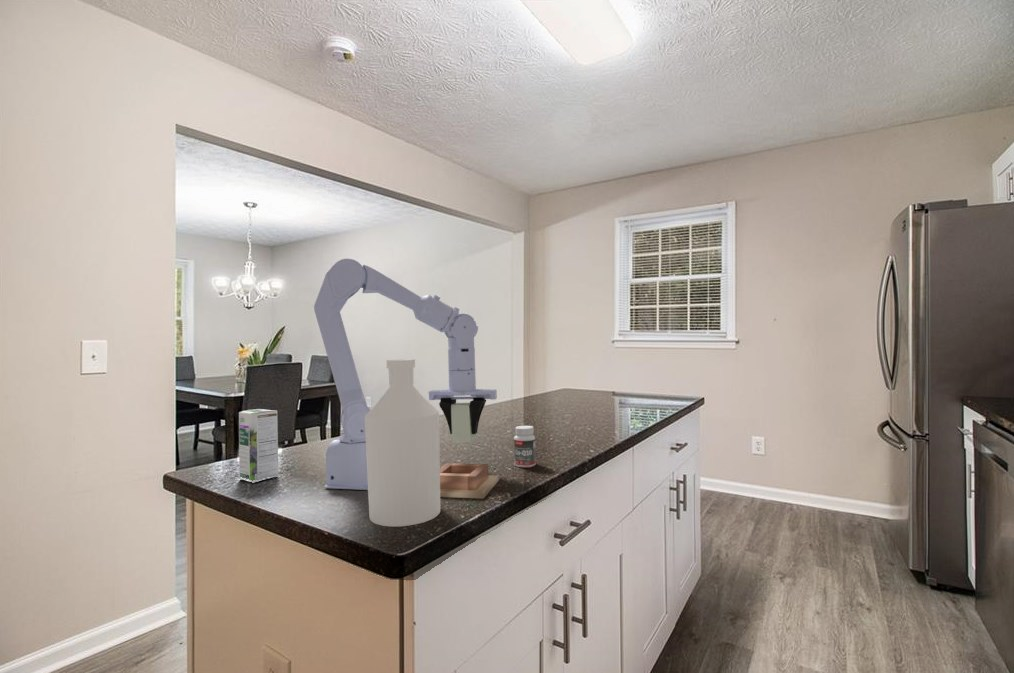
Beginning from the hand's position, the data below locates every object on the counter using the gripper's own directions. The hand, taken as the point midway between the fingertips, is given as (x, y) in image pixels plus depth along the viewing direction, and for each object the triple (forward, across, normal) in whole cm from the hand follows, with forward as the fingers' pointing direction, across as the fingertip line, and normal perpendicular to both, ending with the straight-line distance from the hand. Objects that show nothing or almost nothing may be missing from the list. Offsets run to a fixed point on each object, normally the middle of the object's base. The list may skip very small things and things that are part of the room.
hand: (463, 433), depth 105 cm
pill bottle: (+8, +12, +5) cm, 16 cm away
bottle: (+8, -3, -26) cm, 27 cm away
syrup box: (+8, -43, -8) cm, 44 cm away
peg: (+2, 0, 0) cm, 2 cm away
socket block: (+8, +2, -12) cm, 15 cm away
